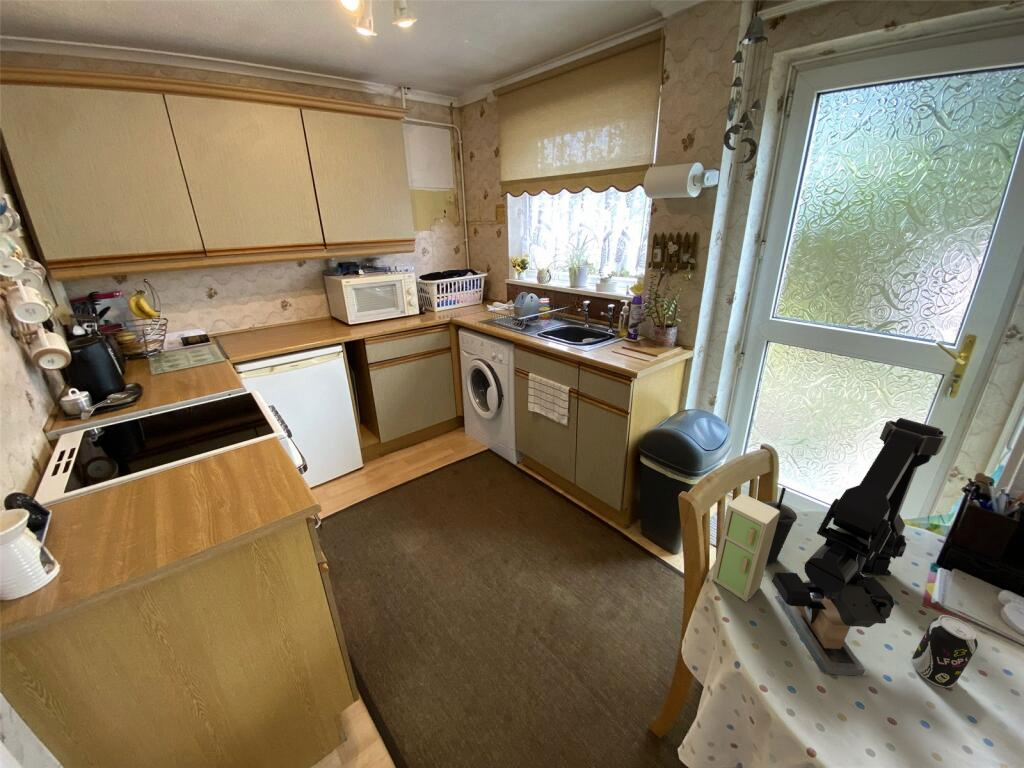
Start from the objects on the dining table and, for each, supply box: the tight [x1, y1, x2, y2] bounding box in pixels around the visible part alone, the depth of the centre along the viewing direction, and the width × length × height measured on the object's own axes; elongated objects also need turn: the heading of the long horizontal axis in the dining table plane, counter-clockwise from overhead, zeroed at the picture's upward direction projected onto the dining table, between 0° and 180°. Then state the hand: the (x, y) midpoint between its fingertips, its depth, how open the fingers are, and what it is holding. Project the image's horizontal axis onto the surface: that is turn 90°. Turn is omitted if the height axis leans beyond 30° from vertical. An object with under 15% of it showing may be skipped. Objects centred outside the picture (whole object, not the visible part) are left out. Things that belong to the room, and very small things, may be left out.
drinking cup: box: [761, 486, 798, 565], centre depth 96 cm, size 8×8×20 cm
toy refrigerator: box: [711, 493, 780, 602], centre depth 89 cm, size 8×7×21 cm
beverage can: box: [911, 614, 979, 689], centre depth 72 cm, size 6×6×12 cm
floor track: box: [775, 591, 866, 677], centre depth 81 cm, size 17×7×2 cm, turn 176°
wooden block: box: [797, 597, 851, 649], centre depth 80 cm, size 9×3×6 cm, turn 176°
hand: (819, 622), depth 81 cm, fingers closed on wooden block, 3 cm apart
